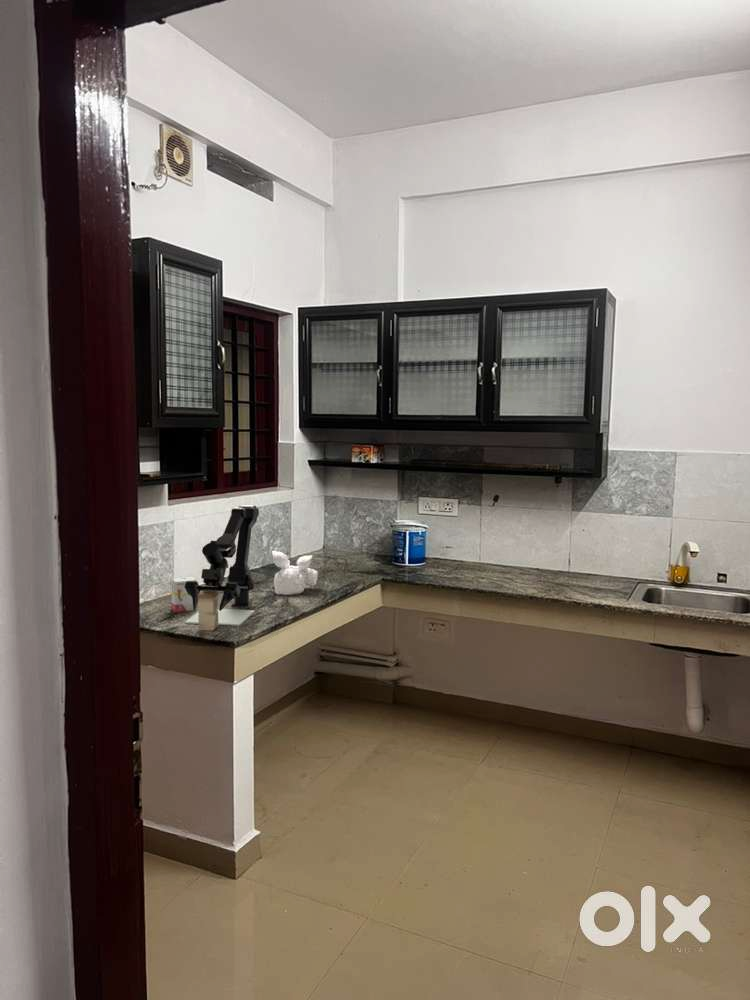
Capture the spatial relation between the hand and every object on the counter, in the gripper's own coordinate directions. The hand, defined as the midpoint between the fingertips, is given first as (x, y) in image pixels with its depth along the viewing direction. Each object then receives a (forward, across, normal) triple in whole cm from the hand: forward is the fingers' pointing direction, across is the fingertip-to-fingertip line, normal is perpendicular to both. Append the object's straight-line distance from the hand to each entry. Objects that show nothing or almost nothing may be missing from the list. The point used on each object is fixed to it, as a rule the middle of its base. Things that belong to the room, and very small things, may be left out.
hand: (207, 609), depth 255 cm
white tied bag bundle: (-38, +17, +48) cm, 64 cm away
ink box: (-11, -17, +21) cm, 29 cm away
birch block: (+4, 0, +6) cm, 7 cm away
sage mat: (-6, 0, +15) cm, 16 cm away
